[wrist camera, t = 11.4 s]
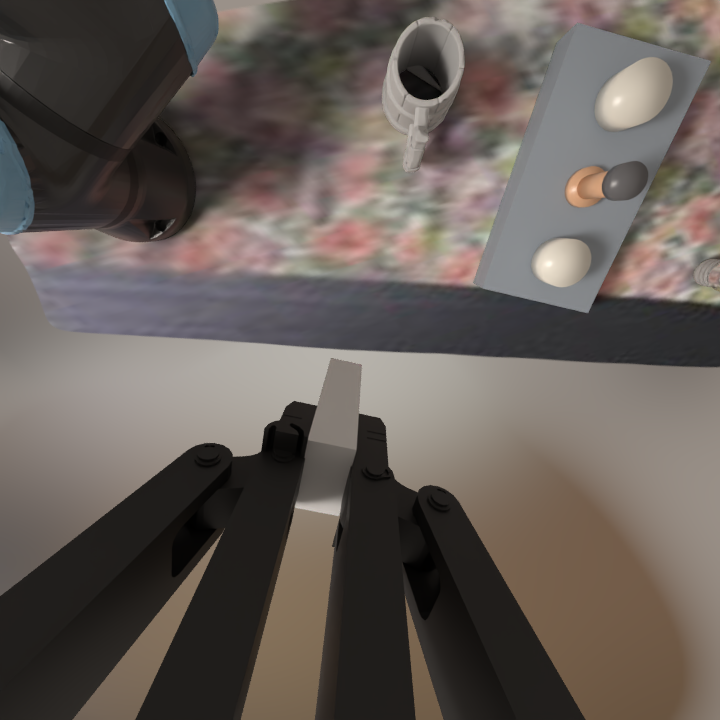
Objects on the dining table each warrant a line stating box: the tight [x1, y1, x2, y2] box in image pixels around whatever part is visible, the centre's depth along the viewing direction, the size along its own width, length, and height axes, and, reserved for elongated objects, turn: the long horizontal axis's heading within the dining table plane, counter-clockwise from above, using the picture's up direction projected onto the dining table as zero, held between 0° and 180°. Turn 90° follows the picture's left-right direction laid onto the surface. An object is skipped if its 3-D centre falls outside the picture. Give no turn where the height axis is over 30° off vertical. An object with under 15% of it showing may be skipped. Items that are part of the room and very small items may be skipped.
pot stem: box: [565, 161, 648, 208], centre depth 35 cm, size 4×4×7 cm
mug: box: [382, 17, 465, 173], centre depth 34 cm, size 8×12×12 cm, turn 176°
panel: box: [473, 23, 711, 313], centre depth 40 cm, size 14×26×4 cm, turn 167°
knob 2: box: [594, 57, 673, 132], centre depth 35 cm, size 5×5×7 cm
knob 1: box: [531, 238, 591, 287], centre depth 41 cm, size 5×5×7 cm
